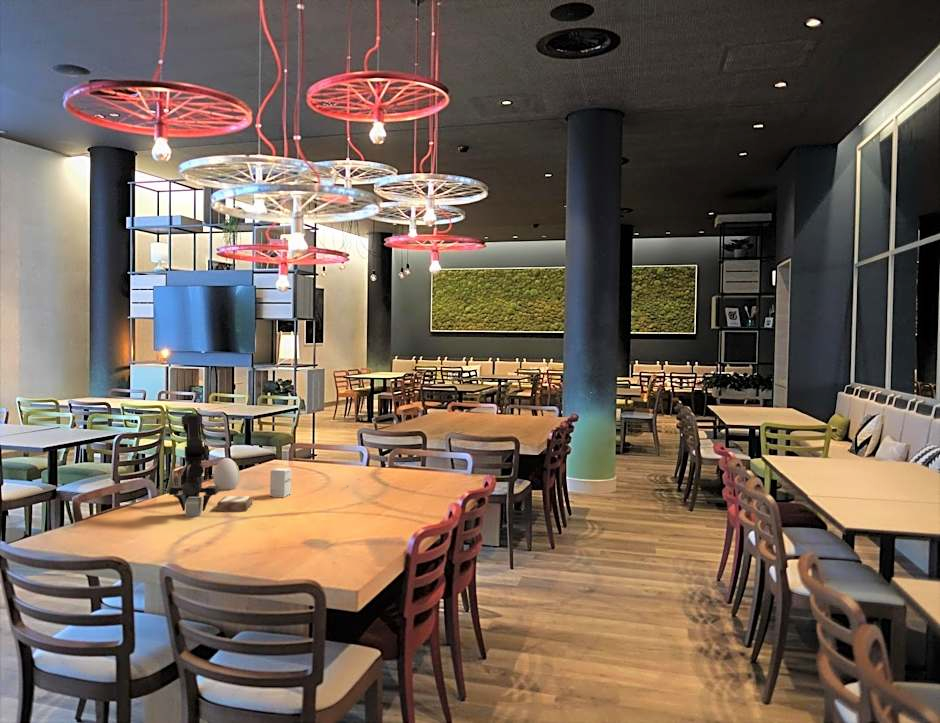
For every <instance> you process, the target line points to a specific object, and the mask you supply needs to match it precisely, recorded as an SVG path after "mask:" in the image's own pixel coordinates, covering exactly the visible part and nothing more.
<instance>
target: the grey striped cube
mask: <svg viewBox="0 0 940 723" xmlns="http://www.w3.org/2000/svg"><path fill="white" fill-rule="evenodd" d="M202 512H203V496H199V497H188V498H187V499H186V502H185V517H199V516H201V514H202Z"/></svg>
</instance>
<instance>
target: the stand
mask: <svg viewBox="0 0 940 723" xmlns="http://www.w3.org/2000/svg"><path fill="white" fill-rule="evenodd" d="M216 505H217V512H247V511H248V510H249V509H250V508H251V507H252V506H251V505H253V496H245V495H244V496H243V495H242V496H241V495H239V496H236V495H234V496H233V495H229V496H227V495H226V496H223V498H221V499H220V500H218V502H217V504H216ZM250 506H251V507H250ZM248 508H249V509H248Z"/></svg>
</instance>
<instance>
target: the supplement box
mask: <svg viewBox="0 0 940 723" xmlns="http://www.w3.org/2000/svg"><path fill="white" fill-rule="evenodd" d="M269 485H270V487H269V488H270V490H269V492H270V493H269V496H273V497H272V498H282V497H284V498H286V497H288V496H290V495H291V493H292V492H291V491H292V468H286V467H285V468H284V467H277V468H273V469H271V470H270V484H269ZM289 494H290V495H289ZM287 495H288V496H287ZM285 496H286V497H285Z"/></svg>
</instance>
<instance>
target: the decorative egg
mask: <svg viewBox="0 0 940 723" xmlns="http://www.w3.org/2000/svg"><path fill="white" fill-rule="evenodd" d="M214 468H215V469H214V472H213V477H212V479H213V484H214V486H218V488H219V489H220V490H219V491H229V490H228V489H231V490H234V489H236V487H237V486H238V485H239V483H240V478H241V477H240V475H241V474H240V473H241V472H240V469H239V467H238V464H237V463H236V462H235V461H234V460H233V459H232V458H230V457H225V458H223V459H221V460H220V461H218V463H217V464H216V466H215V467H214Z"/></svg>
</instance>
